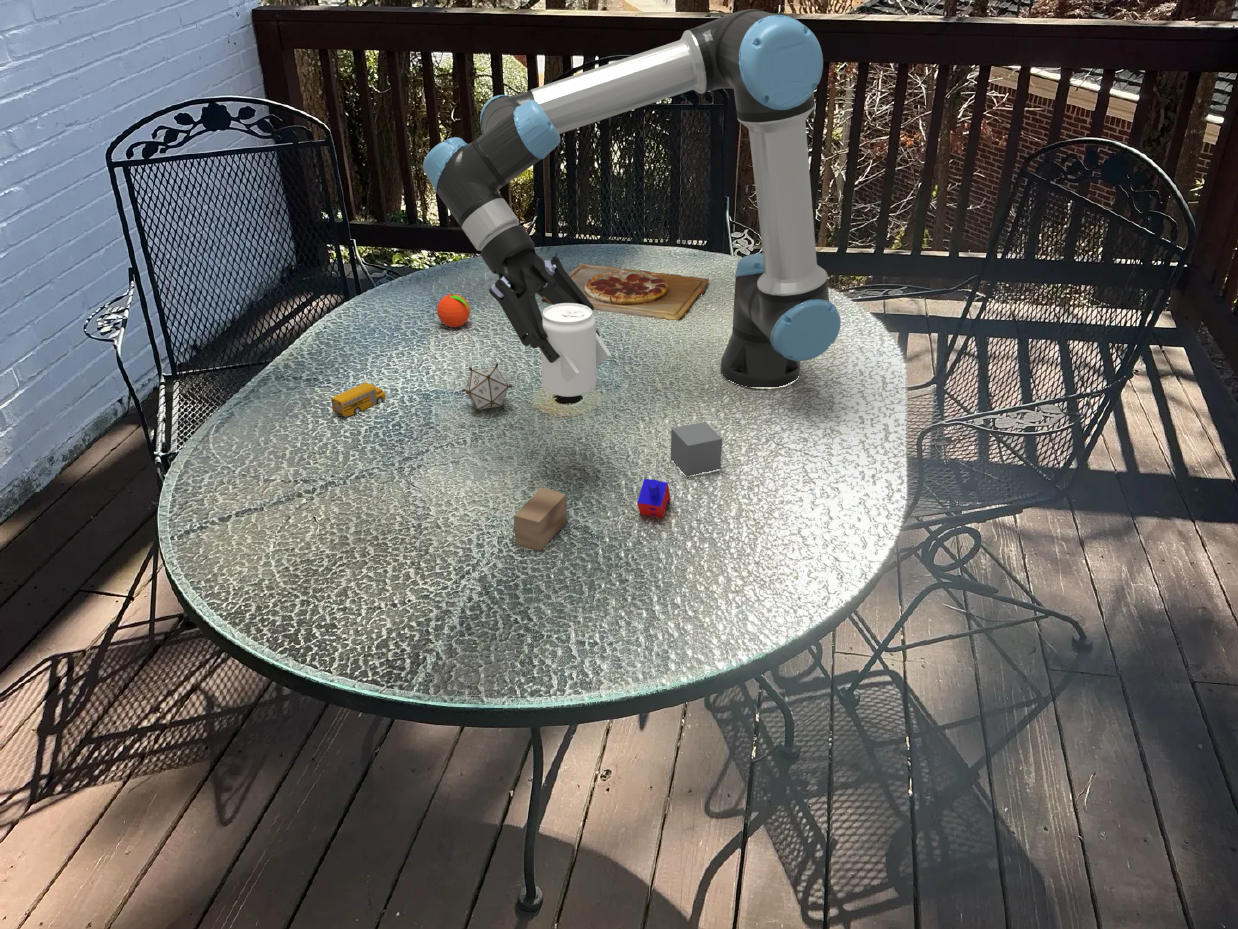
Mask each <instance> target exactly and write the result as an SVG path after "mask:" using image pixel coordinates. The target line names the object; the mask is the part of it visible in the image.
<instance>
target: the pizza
mask: <svg viewBox="0 0 1238 929" xmlns="http://www.w3.org/2000/svg"><path fill="white" fill-rule="evenodd" d="M567 274H568V275H569V276H570V278H571V279H572V280H573V281H574V283H575V284H576V285H577V286H578V288H579V289H580V290H581V291H582V293H583V294H584V295H585V296H586V298H587V299H588V300H589V301H590V302H591V304H592V305H593V307H594V309H593V310H592V311H598V312H605V313H613V314H621V315H626V316H633V317H634V316H635V317H641V316H642V318H643V317H644V318H653V317H654V319H655V320H659V319H666V320H679V319H680V318H681V319H683V318H684V317H685V315H686V314H688V313H689V311H690V309H691V308H690V306H691V307H692V306H693V304H694V303H695V302H694V301H696V300H697V299H699V297H700V296H699V295H701V294H703V295H704V294H705V291H706V288H707V286H708V284H709V282H710V279H709V278H704V277H695V276H690V275H689V276H686V275H682V274H674V273H673V274H672V273H664V272H654V271H648V270H642V269H639V270H638V269H631V268H621V267H616V266H609V265H607V266H605V265H601V264H592V263H584V262H582V263H578V265H577V266H575V267H574V268H573V269H572V270H571V271H569V273H567ZM698 296H699V297H698ZM541 298H542V300H544V301H545V303H547V304H549V305H553V304H552V303H551V302H550V301H549V300H548V299H547V298H545V297H541ZM696 298H697V299H696ZM693 302H694V303H693ZM689 308H690V309H689ZM687 312H688V313H687ZM685 313H686V314H685ZM684 314H685V315H684ZM683 316H684V317H683ZM682 317H683V318H682ZM681 319H680V320H681ZM680 320H679V321H680Z"/></svg>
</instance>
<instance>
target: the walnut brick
mask: <svg viewBox="0 0 1238 929" xmlns="http://www.w3.org/2000/svg"><path fill="white" fill-rule="evenodd" d="M567 501H568V500H567V493H564V492H560V491H555V490H553V489H549V488H544V487H541V488H540V489H539V490H538V491H536V493H535V494H534V495H533V496H532V497H531V498H529V500H528V501H526V503H525V504H523V506H521V508H520V509H519V510H517V511H516V513H514V514H513V525H514V540H515V545H518V546H521V547H525V548H528V549H532V550H534V551H537V552H541V551H543V549H544V548H545V547H546V546H547V545H548V543H549V542H550V541H551V540H552V539H553V538H554V537H555V536H557V534H558V533H559V532H560V530H561V529H562V528H563V527H564V526H565V525H566V524H567V523H568V511H567V510H568V508H567V507H568V506H567V505H568V504H567Z"/></svg>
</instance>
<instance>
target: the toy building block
mask: <svg viewBox="0 0 1238 929" xmlns="http://www.w3.org/2000/svg"><path fill="white" fill-rule="evenodd" d="M641 485H642V486H641V489H640V490H639V491H640V492H639V495H638V499H637V502H636V504H637V508H638V512H639V515H642V516H646V517H647V516H648V517H654V518H659V519H664V518H665V517H664V516H665V513H666V510H667V507H668V506H669V505H670V504H671V500H672V499H671V495H670V488H669V482H667V481H662V480H657V479H655V478H654V479H649V478H643V482H642V484H641ZM668 504H669V505H668ZM667 505H668V506H667Z"/></svg>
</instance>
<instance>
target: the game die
mask: <svg viewBox="0 0 1238 929" xmlns="http://www.w3.org/2000/svg"><path fill="white" fill-rule="evenodd" d="M498 367H499V362H496V364H495V366H494V367H493V366H492V367H485V368H478V369H473V368H472V367H471V366H468V370H469V371H470V374H469V377H468V380H467V384H466V386H465V388H462V389H461V390H460V391H461V392H462V393H465V394H466V395H467V396H468V397H469V399H470V400H471V402H472V404H473V405H474V408H475V412H474V413H475V415H477V414H478V413H479V410H481V411H482V410H487V409H492V408H493V409H494V408H501V409H502V410H505V409H506V408H505V406H504V405H503V404H504V401H505V398H506V396H507V393H508V390H509V389H512V388H513V387H514V385H512V384H508V382H507V381H506V380H505V378H504V377H503V375H502V373H501V371H500V370H499V368H498Z"/></svg>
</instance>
